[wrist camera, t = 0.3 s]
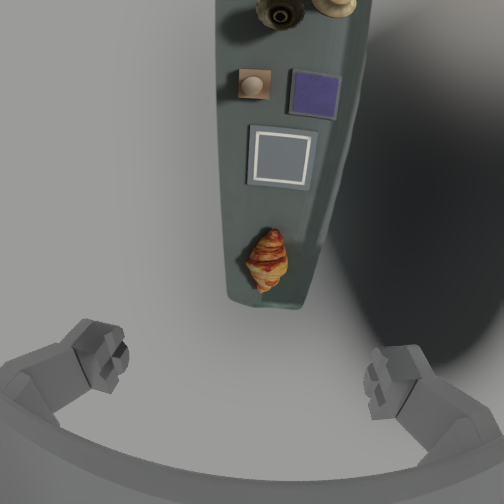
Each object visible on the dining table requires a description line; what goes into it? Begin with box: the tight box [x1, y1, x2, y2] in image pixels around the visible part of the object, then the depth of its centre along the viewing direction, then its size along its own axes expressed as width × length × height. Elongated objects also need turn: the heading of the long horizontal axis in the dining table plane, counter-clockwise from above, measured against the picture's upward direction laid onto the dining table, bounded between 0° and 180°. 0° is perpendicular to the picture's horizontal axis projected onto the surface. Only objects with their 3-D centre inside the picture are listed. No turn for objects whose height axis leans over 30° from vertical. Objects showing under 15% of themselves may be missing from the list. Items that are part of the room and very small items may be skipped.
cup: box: [256, 0, 305, 31], centre depth 33 cm, size 8×7×8 cm
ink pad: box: [289, 69, 342, 120], centre depth 45 cm, size 9×9×2 cm
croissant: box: [246, 229, 288, 293], centre depth 70 cm, size 21×10×8 cm, turn 174°
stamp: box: [238, 68, 272, 99], centre depth 42 cm, size 6×6×8 cm
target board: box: [247, 124, 318, 191], centre depth 54 cm, size 13×13×1 cm
